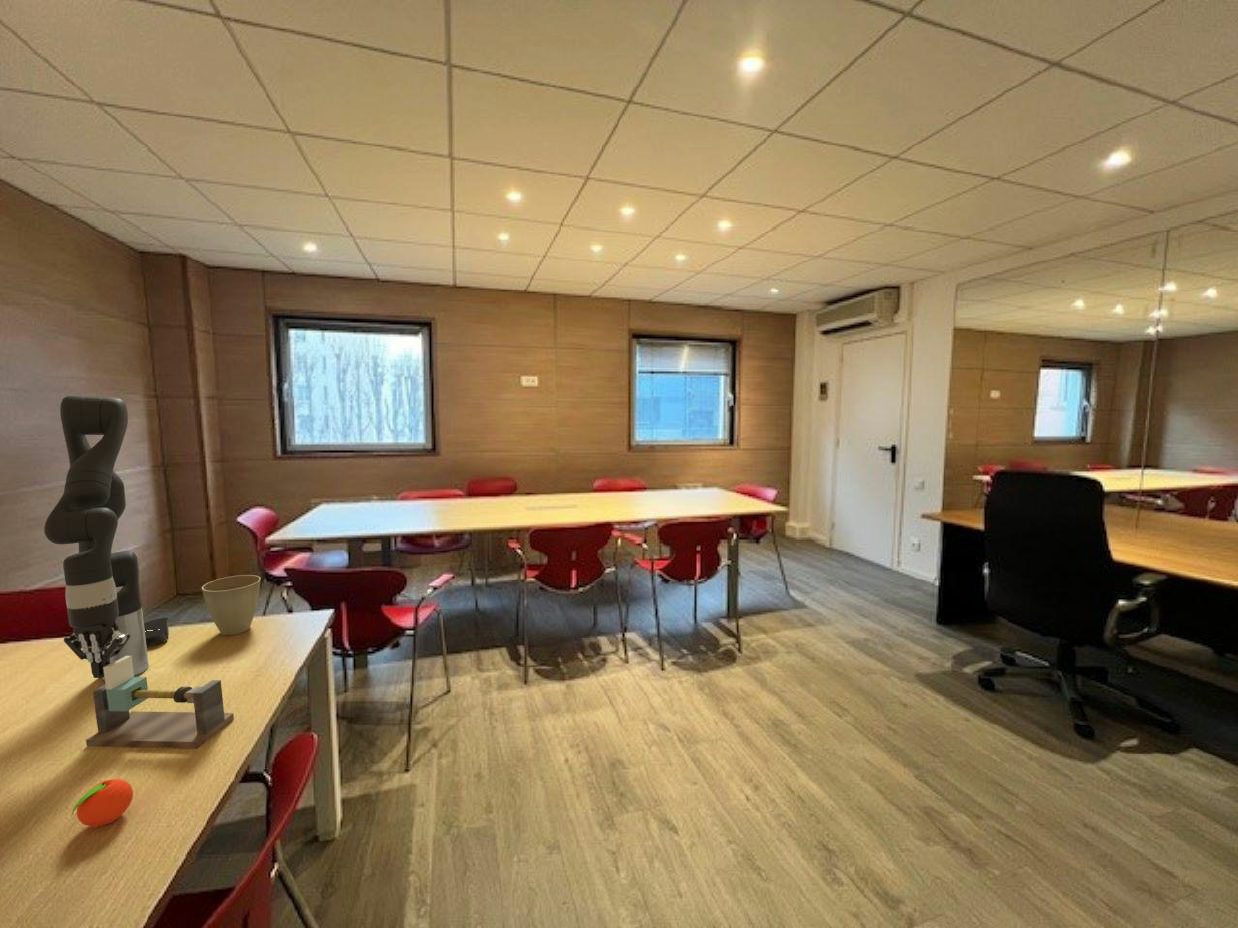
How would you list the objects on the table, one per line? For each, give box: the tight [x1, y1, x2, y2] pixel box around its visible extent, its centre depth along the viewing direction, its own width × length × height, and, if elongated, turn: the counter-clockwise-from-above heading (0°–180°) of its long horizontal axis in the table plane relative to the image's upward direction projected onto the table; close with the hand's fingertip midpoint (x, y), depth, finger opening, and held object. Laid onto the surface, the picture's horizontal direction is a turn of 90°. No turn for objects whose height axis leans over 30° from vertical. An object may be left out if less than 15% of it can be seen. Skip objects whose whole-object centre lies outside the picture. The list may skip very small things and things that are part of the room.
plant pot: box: [201, 574, 261, 636], centre depth 162 cm, size 15×15×16 cm
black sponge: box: [144, 617, 170, 647], centre depth 157 cm, size 16×8×4 cm, turn 41°
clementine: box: [70, 778, 134, 828], centre depth 88 cm, size 8×7×7 cm
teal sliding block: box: [103, 656, 149, 711], centre depth 111 cm, size 4×5×10 cm
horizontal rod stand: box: [85, 679, 235, 749], centre depth 112 cm, size 24×10×11 cm, turn 89°
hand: (102, 676), depth 111 cm, fingers closed
